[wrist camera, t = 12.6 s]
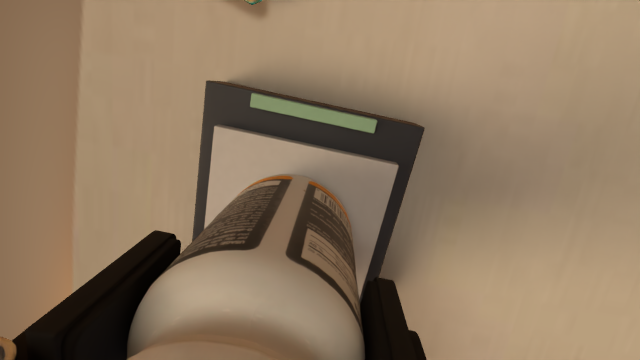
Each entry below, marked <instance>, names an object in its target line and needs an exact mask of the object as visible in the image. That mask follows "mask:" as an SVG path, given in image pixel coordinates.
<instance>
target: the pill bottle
mask: <svg viewBox="0 0 640 360" xmlns="http://www.w3.org/2000/svg"><path fill="white" fill-rule="evenodd" d="M127 360H365V343H364V336H363V329H362V321H361V312H360V302H359V293H358V286H357V278H356V265H355V256H354V246H353V235H352V230H351V225H350V221H349V218H348V215H347V213H346V211H345V209H344V207H343V205H342V204H341V202H340V201H339V200H338V198H337V197H336V196H335V195H334V194H333V193H332V192H331V191H330V190H329V189H327V188H326V187H324V186H323V185H321V184H320V183H318V182H316V181H314V180H312V179H310V178H307V177H303V176H299V175H293V174H277V175H273V176H268V177H265V178H262V179H260V180H258V181H255V182H254V183H252V184H251V185H249V186H248V187H246V188H245V189H244V190H243V191H242V192H241V193H239V194H238V195H237V196H236V197H235V198H234V199H233V200H232V201H231V202H230V203H229V204H228V205H227V206H226V207H225V208H224V209H223V210H222V211H221V212H220V213H219V214H218V215H217V216H216V217H215V218H214V219H213V221H212V222H211V223H210V224H209V225H208V226H207V227H206V228H205V229H204V230H203V231H202V232H201V233H200V235H199V236H198V237H197V238H196V239H195V240H194V241H193V242H192V243H191V244H190V245H189V246H188V247H187V248H186V249H185V250H184V251H183V252H182V253H181V254H180V255H179V256H178V257H177V258H176V259H175V260H174V261H173V262H172V263H171V265H170V266H169V267H168V268H167V269H166V270H165V271H164V272H163V273H162V274H161V275H160V276H159V277H158V278H157V279H156V280H155V281H154V282H153V283H152V284H151V286H150V288H149V289H148V291H147V292H146V294H145V296H144V297H143V299H142V301H141V303H140V304H139V306H138V308H137V310H136V313H135V315H134V318H133V320H132V323H131V327H130V331H129V335H128V342H127Z"/></svg>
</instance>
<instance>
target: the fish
mask: <svg viewBox="0 0 640 360" xmlns="http://www.w3.org/2000/svg"><path fill="white" fill-rule="evenodd" d="M244 1H246V2H248V3H249V4H251V5H253V4H256V3H258V2H261V1H262V0H244Z"/></svg>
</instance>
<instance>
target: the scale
mask: <svg viewBox="0 0 640 360" xmlns="http://www.w3.org/2000/svg"><path fill="white" fill-rule="evenodd" d="M423 132H424V127H422V126H420V125H417V124H415V123H412V122H407V121H403V120H398V119H394V118H389V117H384V116H380V115H375V114H370V113H366V112H361V111H357V110H352V109H347V108H343V107H338V106H333V105H329V104H324V103H320V102H315V101H310V100H306V99H301V98H297V97H292V96H287V95H283V94H278V93H273V92H269V91H264V90H260V89H255V88H250V87H246V86H241V85H236V84H232V83H227V82H221V81H206V89H205V101H204V112H203V124H202V135H201V147H200V158H199V170H198V181H197V193H196V204H195V216H194V227H193V239H192V242H193V241H194V240H195V239H196V238H197V237H198V236H199V235H200V233H201V232H202V231H203V230H204V229H205V228H206V227H207V226H208V225H209V224H210V223H211V222H212V221H213V219H214V218H215V217H216V216H217V215H218V214H219V213H220V212H221V211H222V210H223V209H224V208H225V207H226V206H227V205H228V204H229V203H230V202H231V201H232V200H233V199H234V198H235V197H236V196H237V195H238V194H239V193H241V192H242V191H243V190H244V189H245V188H246V187H248V186H249V185H251V184H252V183H254V182H255V181H258V180H260V179H262V178H265V177H268V176H273V175H277V174H293V175H299V176H303V177H307V178H310V179H312V180H314V181H316V182H318V183H320V184H321V185H323V186H324V187H326V188H327V189H329V190H330V191H331V192H332V193H333V194H334V195H335V196H336V197H337V198H338V200H339V201H340V202H341V204H342V205H343V207H344V209H345V211H346V213H347V215H348V218H349V221H350V225H351V230H352V235H353V246H354V256H355V265H356V278H357V286H358V293H359V302H360V303H361V300H362V297H363V293H364V290H365V287H366V284H367V281H368V280H369V281H373V280H374V278H375V277H379V274H380V271H381V267H382V264H383V261H384V258H385V254H386V251H387V248H388V245H389V242H390V238H391V235H392V232H393V229H394V225H395V222H396V219H397V216H398V213H399V209H400V206H401V203H402V200H403V196H404V193H405V190H406V187H407V184H408V180H409V177H410V174H411V171H412V168H413V164H414V161H415V158H416V155H417V151H418V148H419V145H420V142H421V139H422V135H423Z"/></svg>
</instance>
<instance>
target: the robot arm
mask: <svg viewBox="0 0 640 360" xmlns="http://www.w3.org/2000/svg"><path fill="white" fill-rule="evenodd" d="M180 248H181V242H180V240H176V236H175V235H174V234H171V233H166V232H162V231H153V232H152V233H150V234H149V235H148V236H147V237H145V238H144V239H143V240H141V241H140V242H139V243H137V244H136V245H135V246H134V247H132V248H131V249H130V250H128V251H127V252H126V253H124V254H123V255H122V256H121V257H119V258H118V259H117V260H115V261H114V262H113V263H111V264H110V265H109V266H108V267H106V268H105V269H104V270H102V271H101V272H100V273H98V274H97V275H96V276H95V277H93V278H92V279H91V280H89V281H88V282H87V283H85V284H84V285H83V286H82V287H80V288H79V289H78V290H76V291H75V292H74V293H72V294H71V295H70V296H69V297H67V298H66V299H65V300H63V301H62V302H61V303H60V304H58V305H57V306H56V307H54V308H53V309H52V310H50V311H49V312H48V313H47V314H45V315H44V316H43V317H41V318H40V319H39V320H37V321H36V322H35V323H34V324H32V325H31V326H30V327H28V328H27V329H26V330H25V331H24V332H22V333H21V334H20V335H19V336H17V337H16V338H15V339H13V340H12V341H11V340H9V339H7V338H3V337H0V360H127V342H128V335H129V331H130V327H131V323H132V320H133V318H134V315H135V313H136V310H137V308H138V306H139V304H140V303H141V301H142V299H143V297H144V296H145V294H146V292H147V291H148V289H149V288H150V286H151V284H152V283H153V282H154V281H155V280H156V279H157V278H158V277H159V276H160V275H161V274H162V273H163V272H164V271H165V270H166V269H167V268H168V267H169V266H170V265H171V263H172V262H173V261H174V260H175V259H176V258H177V257H178V256H179V255H180ZM360 312H361V321H362V329H363V336H364V343H365V360H426V357H425V353H424V350H423V347H422V344H421V341H420V338H419V336H418V334H417V333H416V332H415V331H411V330H408V327H407V323H406V320H405V316H404V313H403V310H402V306H401V303H400V300H399V296H398V293H397V289H396V286H395V283H394V281H392V280H388V279H383V278H378V277H375V278H374V280H373V281H369V280H368V281H367V284H366V287H365V290H364V293H363V297H362V300H361V303H360Z"/></svg>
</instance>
